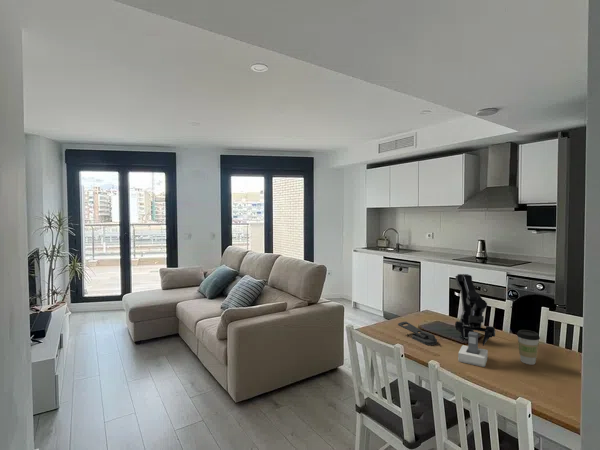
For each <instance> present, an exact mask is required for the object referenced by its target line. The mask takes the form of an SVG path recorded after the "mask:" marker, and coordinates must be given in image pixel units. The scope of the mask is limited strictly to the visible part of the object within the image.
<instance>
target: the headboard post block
mask: <svg viewBox="0 0 600 450" xmlns="http://www.w3.org/2000/svg"><path fill="white" fill-rule="evenodd" d="M457 354H458V355H457V357H458V359H457V361H458V362H459V363H464V364H466V365H467V364H469V365H472V366H477V367H483V368H485V367H486V364H487V361H488V358H489V357H488V356H489V354H488V349H484V348H479V347H478V355H477V354H472V353H468V345H464V344H462V345H461V347H460V349H459V351H458V352H457Z"/></svg>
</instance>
